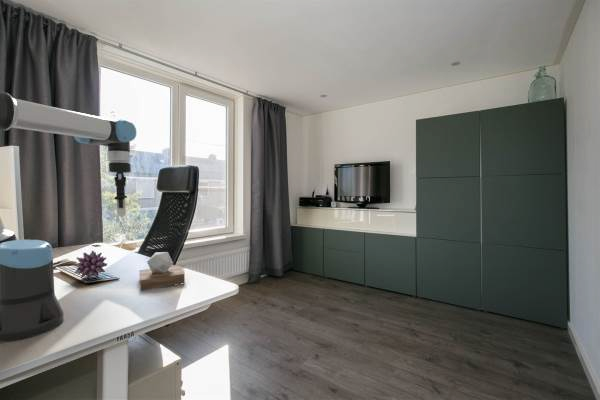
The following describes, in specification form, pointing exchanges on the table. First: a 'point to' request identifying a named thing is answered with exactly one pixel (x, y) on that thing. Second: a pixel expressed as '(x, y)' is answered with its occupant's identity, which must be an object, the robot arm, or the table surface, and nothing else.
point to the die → (160, 262)
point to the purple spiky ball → (90, 264)
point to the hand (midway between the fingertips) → (121, 215)
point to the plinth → (161, 278)
